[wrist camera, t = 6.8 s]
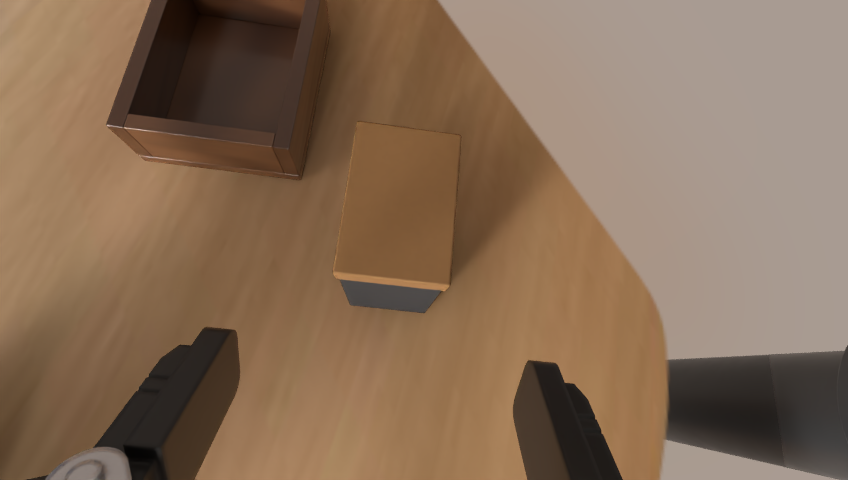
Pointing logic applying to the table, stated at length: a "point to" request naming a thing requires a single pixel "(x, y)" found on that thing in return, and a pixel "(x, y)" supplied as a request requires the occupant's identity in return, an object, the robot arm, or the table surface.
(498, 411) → the table surface
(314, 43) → the holder
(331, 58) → the table surface
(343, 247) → the eraser
